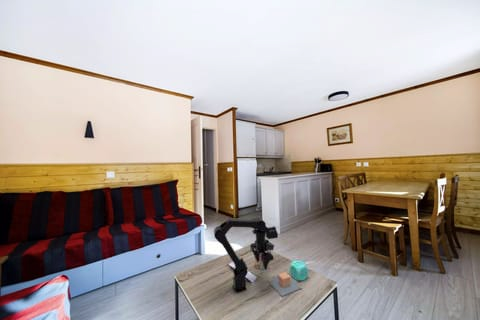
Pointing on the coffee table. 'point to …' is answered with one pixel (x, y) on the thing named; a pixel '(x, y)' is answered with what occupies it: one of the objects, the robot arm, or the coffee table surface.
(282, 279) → the terracotta cube
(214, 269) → the coffee table surface
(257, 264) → the stack of blocks
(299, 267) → the decorative dice
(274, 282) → the slate mat
